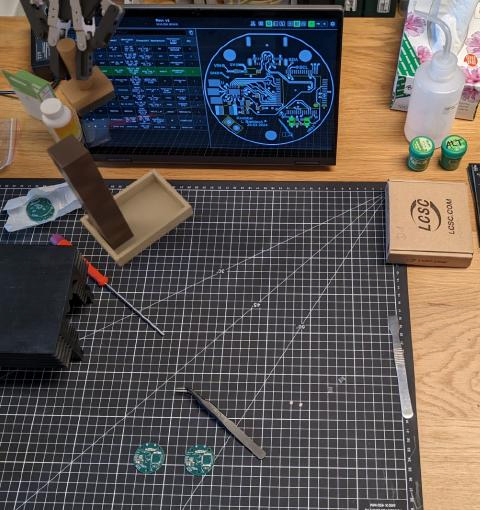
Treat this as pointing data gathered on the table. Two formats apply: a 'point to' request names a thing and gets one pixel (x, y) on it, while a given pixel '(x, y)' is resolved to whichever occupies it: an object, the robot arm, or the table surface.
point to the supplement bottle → (59, 120)
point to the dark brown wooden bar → (90, 190)
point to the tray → (145, 215)
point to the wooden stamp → (83, 82)
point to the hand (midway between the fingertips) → (71, 78)
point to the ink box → (30, 91)
